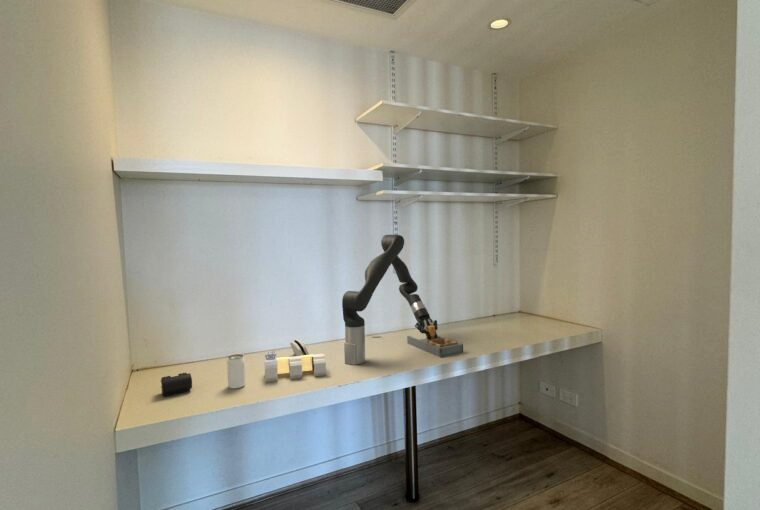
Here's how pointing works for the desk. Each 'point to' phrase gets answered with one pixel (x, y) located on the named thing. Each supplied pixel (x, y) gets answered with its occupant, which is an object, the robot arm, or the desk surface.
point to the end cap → (176, 384)
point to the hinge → (299, 348)
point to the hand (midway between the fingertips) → (433, 338)
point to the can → (236, 371)
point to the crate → (438, 342)
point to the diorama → (293, 365)
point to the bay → (433, 349)
